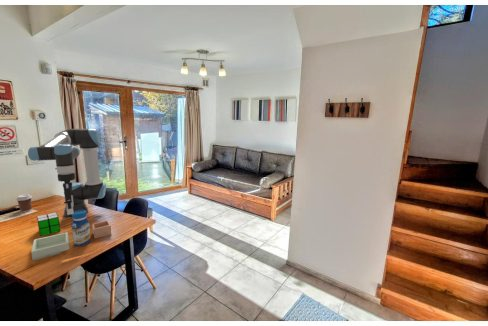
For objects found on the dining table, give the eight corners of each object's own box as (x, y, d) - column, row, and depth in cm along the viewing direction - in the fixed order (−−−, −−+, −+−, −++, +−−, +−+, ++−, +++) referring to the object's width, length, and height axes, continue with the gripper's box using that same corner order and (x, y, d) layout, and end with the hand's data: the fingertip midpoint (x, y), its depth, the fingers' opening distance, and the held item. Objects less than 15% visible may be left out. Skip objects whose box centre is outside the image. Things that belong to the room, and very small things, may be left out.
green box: (35, 247, 131) (34, 239, 130) (68, 239, 140) (67, 232, 139) (32, 260, 119) (31, 251, 118) (69, 251, 128) (68, 242, 127)
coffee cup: (15, 211, 178) (12, 196, 176) (28, 207, 187) (26, 193, 185) (23, 213, 176) (20, 198, 174) (36, 208, 184) (34, 194, 182)
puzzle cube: (58, 226, 157) (56, 212, 155) (60, 231, 150) (58, 216, 148) (38, 230, 150) (36, 216, 148) (40, 236, 143) (37, 221, 141)
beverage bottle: (88, 238, 141) (85, 207, 137) (93, 243, 136) (90, 211, 132) (71, 244, 135) (67, 212, 131) (76, 249, 129) (72, 216, 126)
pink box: (93, 234, 147) (92, 223, 146) (109, 230, 152) (108, 220, 151) (94, 239, 140) (93, 229, 139) (111, 235, 145) (110, 225, 144)
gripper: (58, 169, 133) (63, 204, 137) (55, 178, 114) (61, 219, 117) (74, 168, 138) (78, 202, 142) (74, 176, 118) (79, 216, 122)
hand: (70, 210), depth 129 cm, fingers open, 13 cm apart
